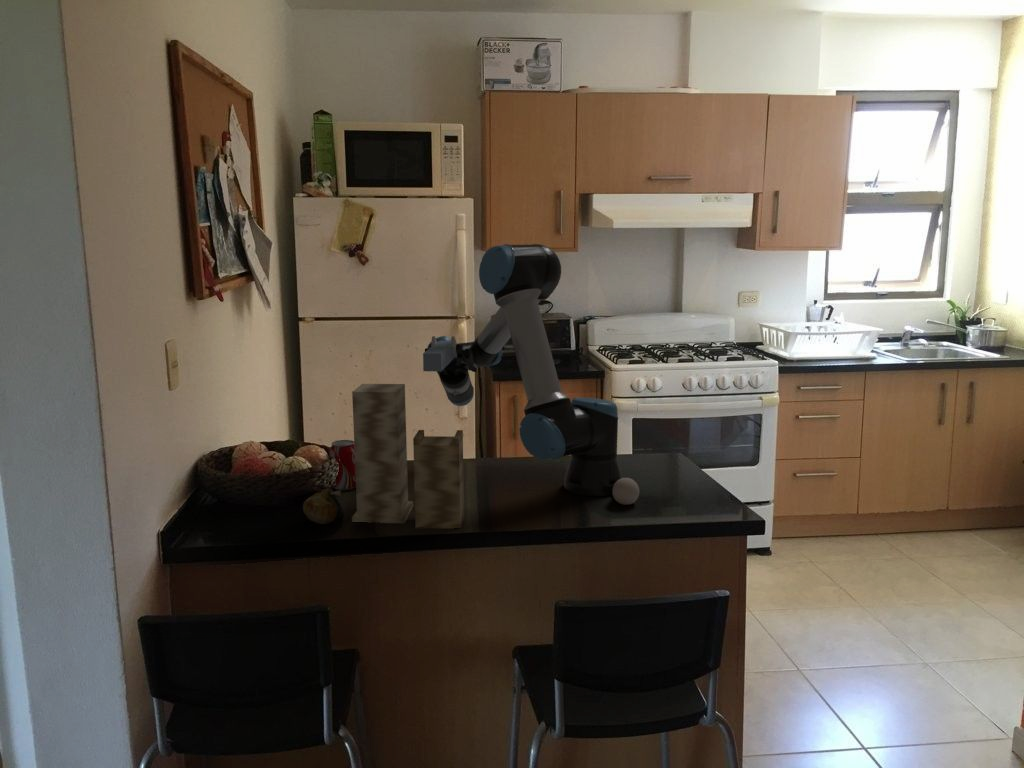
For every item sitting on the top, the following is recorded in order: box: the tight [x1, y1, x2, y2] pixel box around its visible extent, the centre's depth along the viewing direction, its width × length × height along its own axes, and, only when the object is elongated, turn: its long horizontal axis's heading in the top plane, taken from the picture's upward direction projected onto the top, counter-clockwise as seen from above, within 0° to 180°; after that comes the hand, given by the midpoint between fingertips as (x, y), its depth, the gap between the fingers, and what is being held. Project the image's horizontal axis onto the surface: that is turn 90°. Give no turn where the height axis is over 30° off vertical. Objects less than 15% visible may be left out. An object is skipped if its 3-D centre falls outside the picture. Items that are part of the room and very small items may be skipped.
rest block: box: [412, 429, 465, 529], centre depth 187 cm, size 10×8×20 cm
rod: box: [422, 341, 455, 372], centre depth 196 cm, size 4×24×4 cm, turn 176°
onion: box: [302, 488, 342, 525], centre depth 189 cm, size 8×8×8 cm
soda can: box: [329, 439, 356, 492], centre depth 214 cm, size 7×7×12 cm
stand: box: [351, 383, 414, 524], centre depth 192 cm, size 12×12×30 cm
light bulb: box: [612, 477, 640, 506], centre depth 203 cm, size 7×7×11 cm
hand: (442, 341), depth 200 cm, fingers closed on rod, 4 cm apart
